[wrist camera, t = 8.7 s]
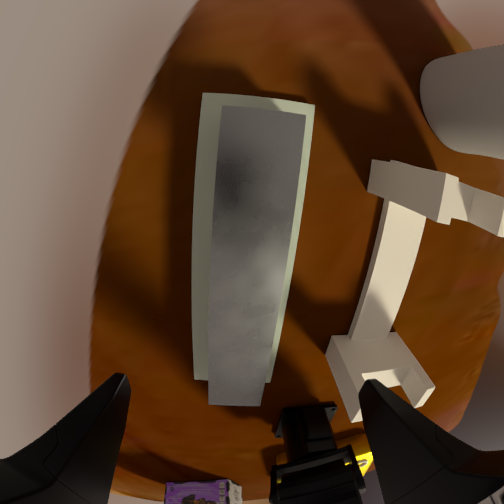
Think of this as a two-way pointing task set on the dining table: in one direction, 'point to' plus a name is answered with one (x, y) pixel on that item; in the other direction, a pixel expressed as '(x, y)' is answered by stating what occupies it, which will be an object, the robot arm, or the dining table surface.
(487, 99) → the mug
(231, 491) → the candy box
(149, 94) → the dining table surface
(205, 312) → the mat
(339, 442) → the element tile
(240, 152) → the rail
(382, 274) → the rack
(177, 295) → the dining table surface
